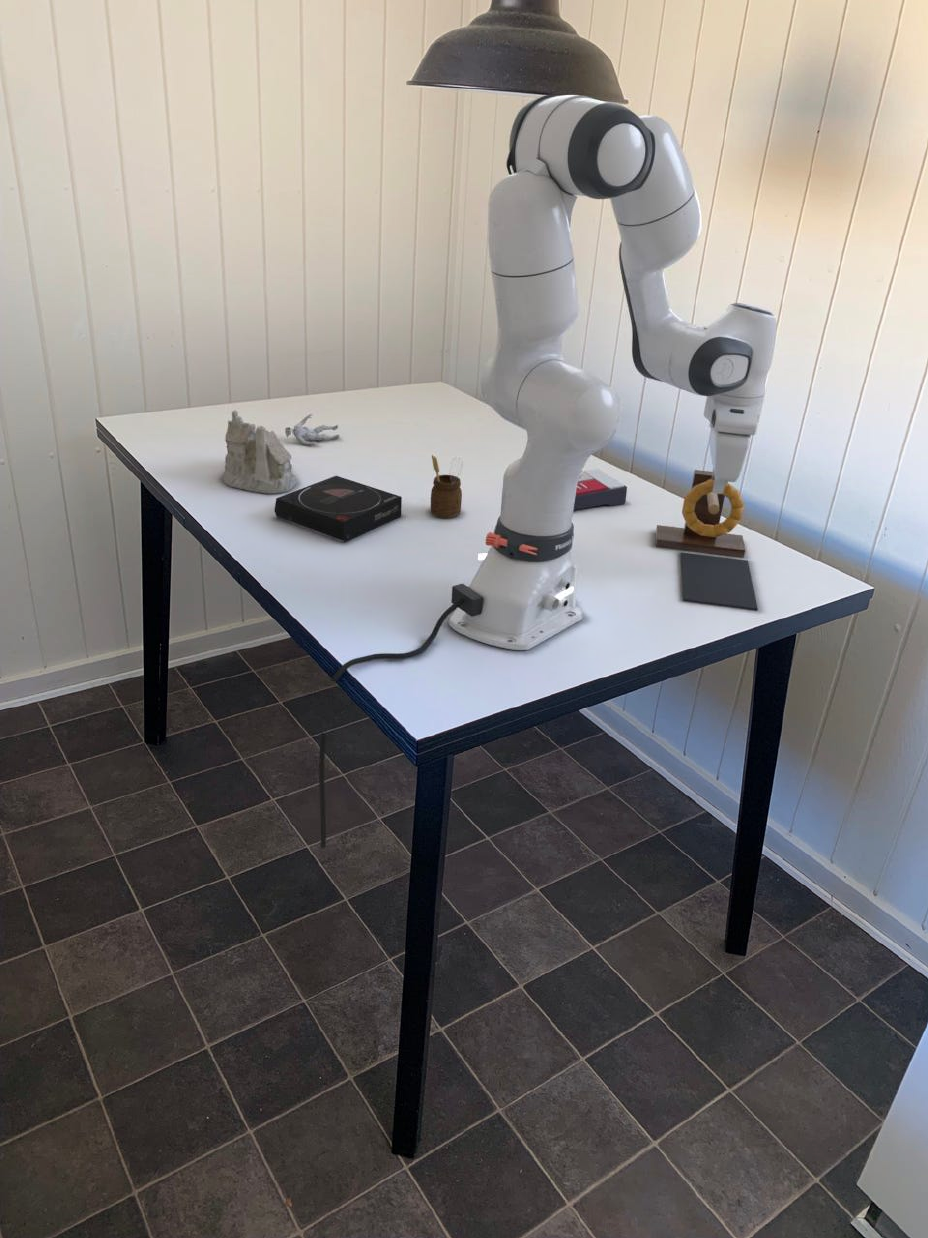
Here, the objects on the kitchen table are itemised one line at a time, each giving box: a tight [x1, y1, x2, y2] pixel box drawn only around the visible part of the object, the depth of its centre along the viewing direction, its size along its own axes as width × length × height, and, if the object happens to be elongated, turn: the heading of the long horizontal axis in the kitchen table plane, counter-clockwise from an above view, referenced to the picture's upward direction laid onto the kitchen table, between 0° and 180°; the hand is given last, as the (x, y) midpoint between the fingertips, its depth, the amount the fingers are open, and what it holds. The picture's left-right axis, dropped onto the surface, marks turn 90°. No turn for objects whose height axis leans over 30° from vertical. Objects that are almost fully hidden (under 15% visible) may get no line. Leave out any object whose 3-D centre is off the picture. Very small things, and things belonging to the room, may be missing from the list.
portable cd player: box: [273, 475, 403, 544], centre depth 179 cm, size 16×17×4 cm
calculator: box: [573, 468, 628, 511], centre depth 195 cm, size 11×4×15 cm
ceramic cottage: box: [222, 409, 297, 495], centre depth 193 cm, size 16×16×15 cm
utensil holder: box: [430, 454, 464, 519], centre depth 182 cm, size 6×6×12 cm
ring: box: [681, 480, 745, 537], centre depth 163 cm, size 10×2×10 cm, turn 80°
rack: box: [655, 469, 746, 558], centre depth 171 cm, size 16×16×14 cm
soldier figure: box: [284, 413, 340, 446], centre depth 216 cm, size 8×5×12 cm
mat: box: [680, 551, 759, 611], centre depth 165 cm, size 19×12×1 cm, turn 170°
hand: (716, 488), depth 161 cm, fingers closed on ring, 2 cm apart
